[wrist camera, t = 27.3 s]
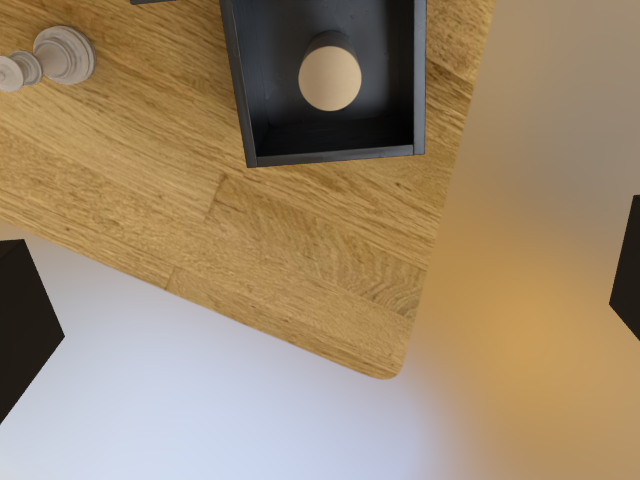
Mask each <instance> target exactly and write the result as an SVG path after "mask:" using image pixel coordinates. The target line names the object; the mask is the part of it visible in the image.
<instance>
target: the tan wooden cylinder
mask: <svg viewBox="0 0 640 480" xmlns="http://www.w3.org/2000/svg"><path fill="white" fill-rule="evenodd" d="M298 81H299V87H300V90H301V93H302V95H303V96H304V98H305V99H306V100H307V101H308V102H309V103H310V104H311V105H312V106H314V107H316V108H318V109H320V110H324V111H335V110H339V109H342V108H344V107H346V106H347V105H349V104H350V103H351V102H352V101H353V100H354V99H355V97H356V96H357V94H358V92H359V89H360V86H361V71H360V67H359V63H358V60H357V57H356V53H355V50H354V47H353V45H352V43H351V42H350V40H349V39H348V38H347V37H346V36H344V35H343V34H341V33H338V32H335V31H326V32H322V33H320V34H318V35H317V36H315V37H314V38H313V39H312V40H311V41H310V43H309V44H308V46H307V49H306V52H305V55H304V58H303V61H302V64H301V67H300V70H299V76H298Z"/></svg>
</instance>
